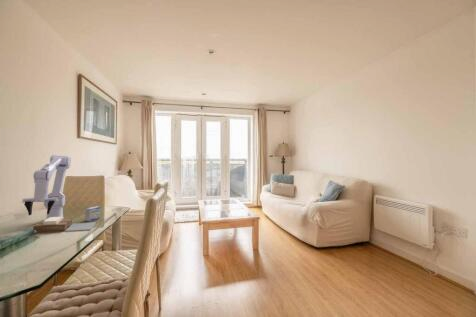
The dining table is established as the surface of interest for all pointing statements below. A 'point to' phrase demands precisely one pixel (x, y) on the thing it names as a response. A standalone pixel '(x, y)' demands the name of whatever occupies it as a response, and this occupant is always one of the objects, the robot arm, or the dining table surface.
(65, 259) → the dining table surface
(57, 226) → the brown wooden tray
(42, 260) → the dining table surface
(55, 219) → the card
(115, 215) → the dining table surface
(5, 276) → the dining table surface
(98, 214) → the medicine box
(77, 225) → the mat
